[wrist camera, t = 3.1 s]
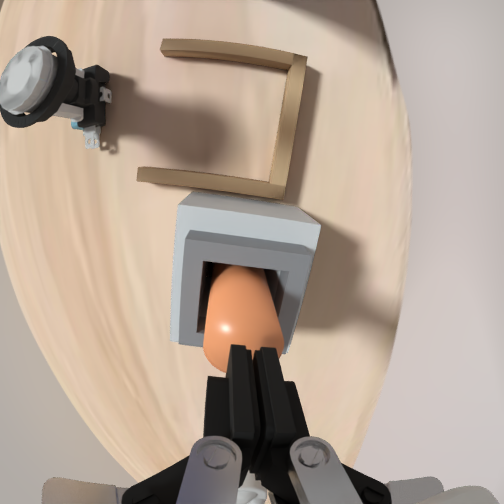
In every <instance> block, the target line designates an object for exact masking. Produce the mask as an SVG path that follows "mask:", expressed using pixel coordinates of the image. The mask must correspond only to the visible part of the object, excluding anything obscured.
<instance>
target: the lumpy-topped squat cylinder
mask: <svg viewBox="0 0 504 504" xmlns="http://www.w3.org/2000/svg"><path fill="white" fill-rule="evenodd" d="M266 499H267V489H266V488H265V487H263V486H262V485H261V480H255V474H250V472H249V471H248V473H247V476H246V478H245V480H244V483H243V485H242V486H241V487H240V488H238V495H237V502H236V504H264V503H265V501H266Z"/></svg>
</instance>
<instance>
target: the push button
mask: <svg viewBox="0 0 504 504" xmlns="http://www.w3.org/2000/svg"><path fill="white" fill-rule="evenodd" d="M53 52H56V54H57V57H56V56H54V55H52V54H51V53H53ZM108 82H109V72H108V71H107V70H105V69H103V68H102V67H100V66H99V65H94V66H91V67H88V68H85V69H81V68H80V69H77V68H75V64H74V60H73V56H72V52H71V51H70V50H69V49H68V47H67V45H66V44H65V43H64V42H63V41H62V40H60V39H58V38H56V37H53V36H46V37H42V38H39V39H37V40H35V41H33V42H31V43H30V44H29V45H27V46H26V47H25V48H24V49H22V50H21V51H19V52H18V53H17V54H16V55H15V56H14V57H13V58H12V59H11V60H10V62H9V63H8V64H7V66H6V68H5V70H4V72H3V73H2V76H1V79H0V112H1V115H2V117H3V119H4V121H5V122H6V123H7V124H8V125H10V126H12V127H17V128H24V127H28V126H31V125H33V124H35V123H36V122H43V121H46V120H47V119H49V118H50V117H51V116H58V117H64V118H70V119H71V126H72V128H73V129H79V130H83V136H85V144H86V149H88V148H92V149H94V148H98V147H99V146H100V140H99V134H100V133H101V126H105V102H108V103H111V91H110V90H108V89H106V88H105V83H108ZM108 94H109V99H108ZM24 112H28V113H30V114H28V115H25V113H24ZM89 139H91V144H88V140H89ZM95 139H96V140H97V143H96V144H95V142H94V140H95Z"/></svg>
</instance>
